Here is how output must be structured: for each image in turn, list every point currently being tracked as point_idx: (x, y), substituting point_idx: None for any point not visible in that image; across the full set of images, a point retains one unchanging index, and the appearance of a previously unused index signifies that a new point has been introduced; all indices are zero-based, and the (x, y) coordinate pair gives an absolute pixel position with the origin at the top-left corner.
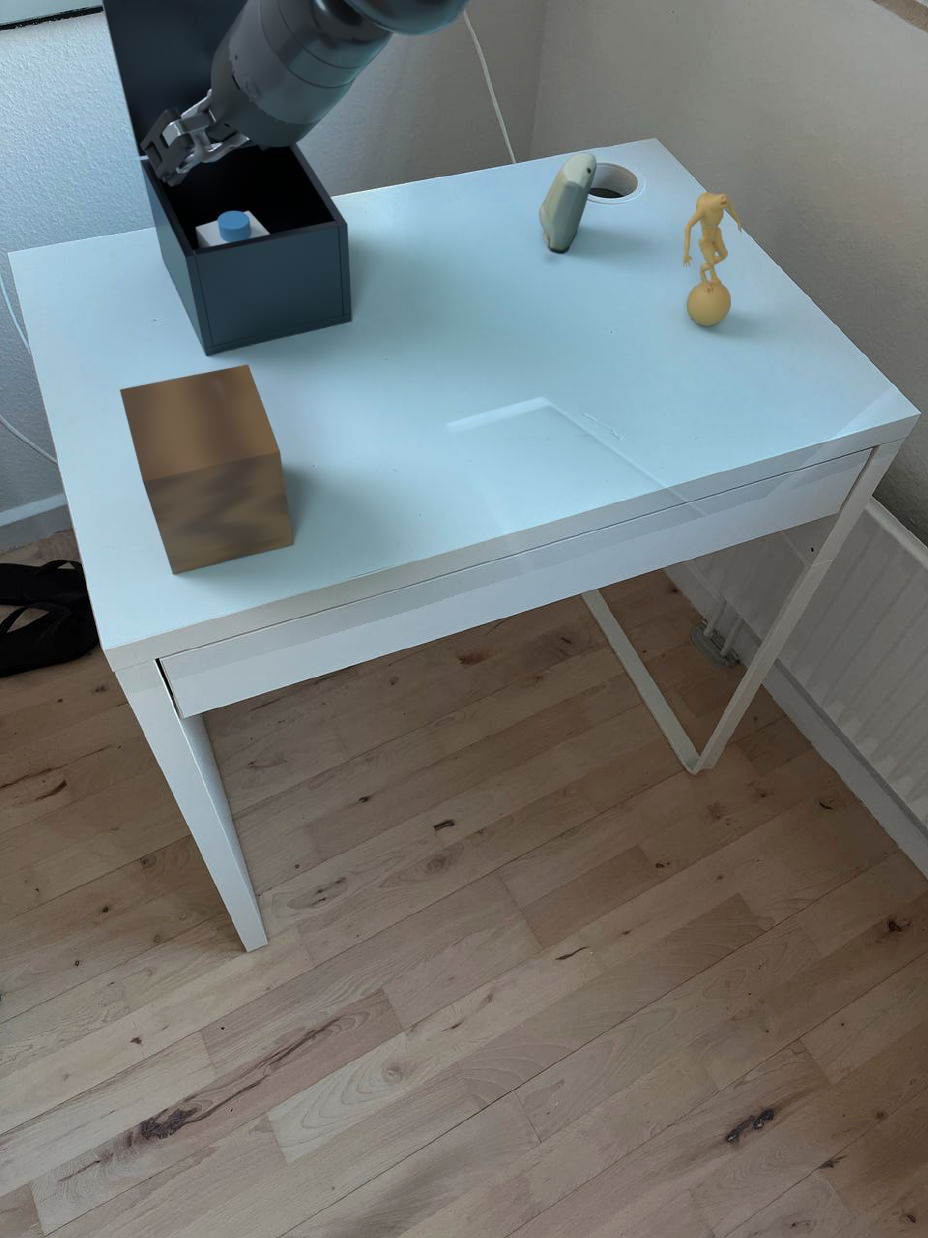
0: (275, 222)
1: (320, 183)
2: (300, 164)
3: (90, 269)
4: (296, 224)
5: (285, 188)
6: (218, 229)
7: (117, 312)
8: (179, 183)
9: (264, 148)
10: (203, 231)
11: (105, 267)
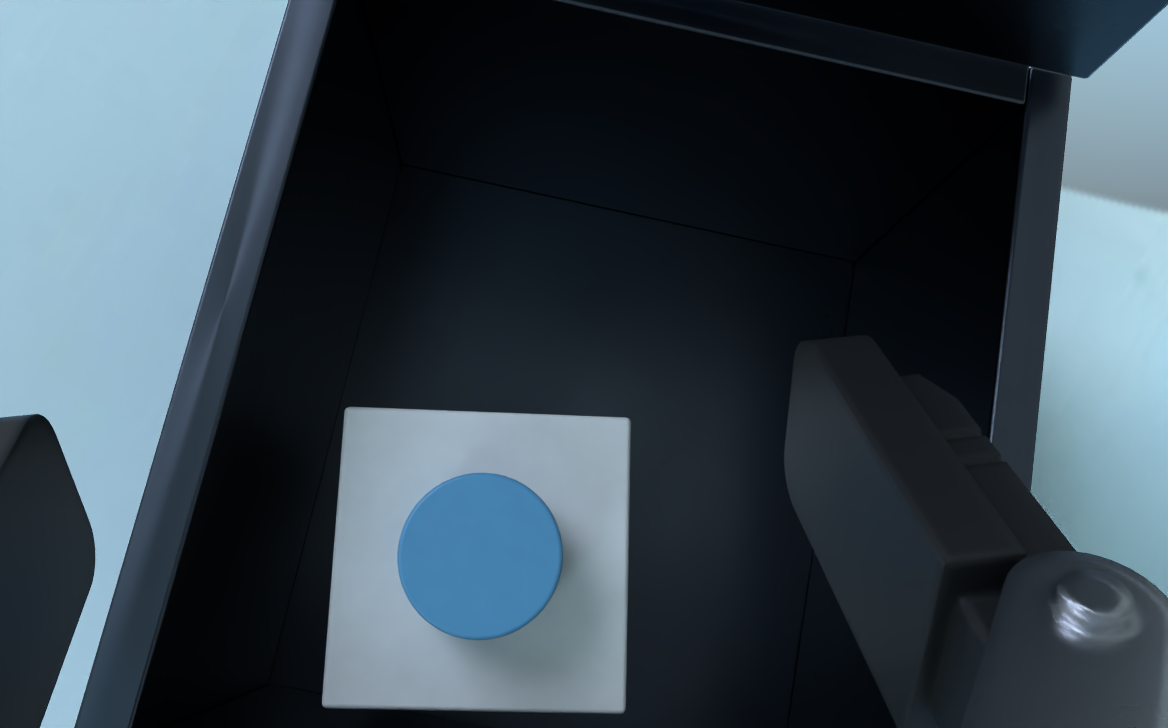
0: (802, 233)
1: None
2: (1000, 330)
3: (145, 63)
4: (866, 288)
5: (903, 197)
6: (429, 481)
7: (100, 318)
8: (91, 580)
9: (797, 515)
10: (358, 459)
11: (193, 80)
